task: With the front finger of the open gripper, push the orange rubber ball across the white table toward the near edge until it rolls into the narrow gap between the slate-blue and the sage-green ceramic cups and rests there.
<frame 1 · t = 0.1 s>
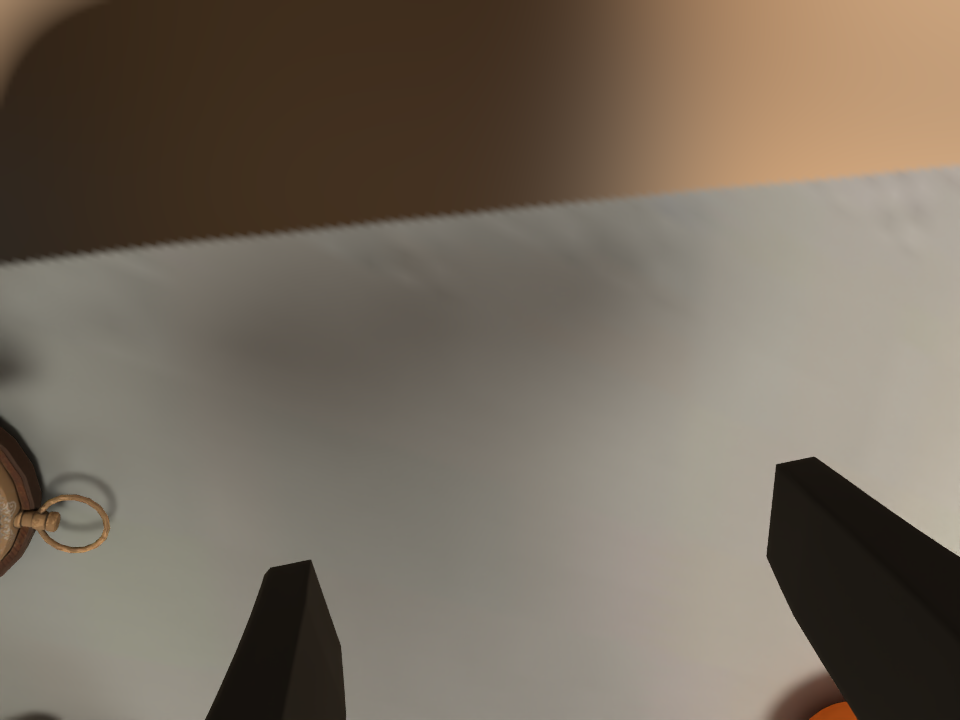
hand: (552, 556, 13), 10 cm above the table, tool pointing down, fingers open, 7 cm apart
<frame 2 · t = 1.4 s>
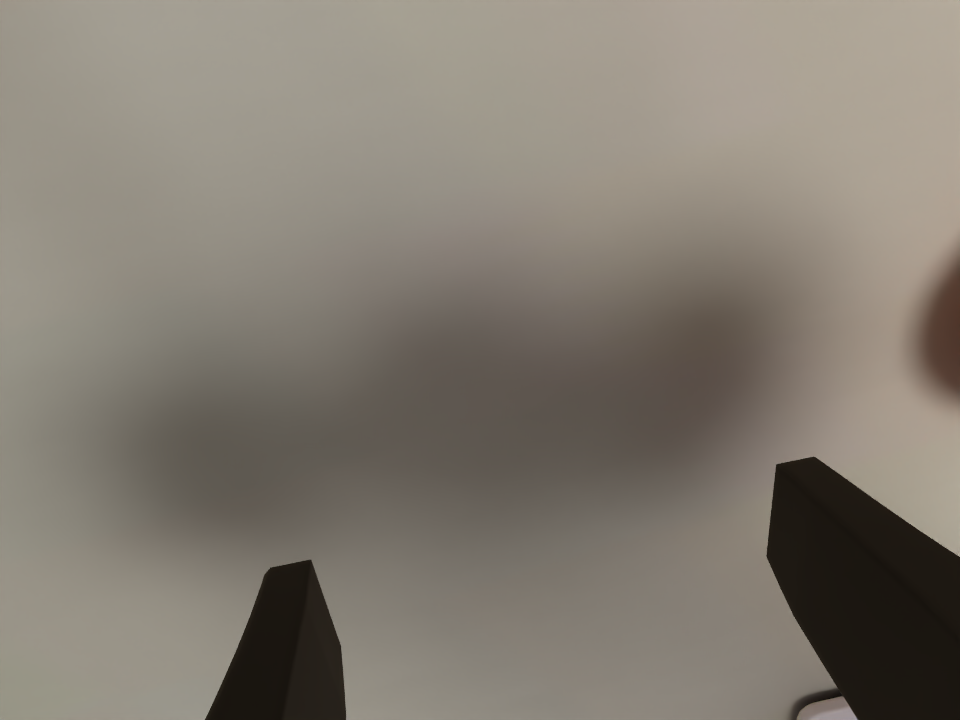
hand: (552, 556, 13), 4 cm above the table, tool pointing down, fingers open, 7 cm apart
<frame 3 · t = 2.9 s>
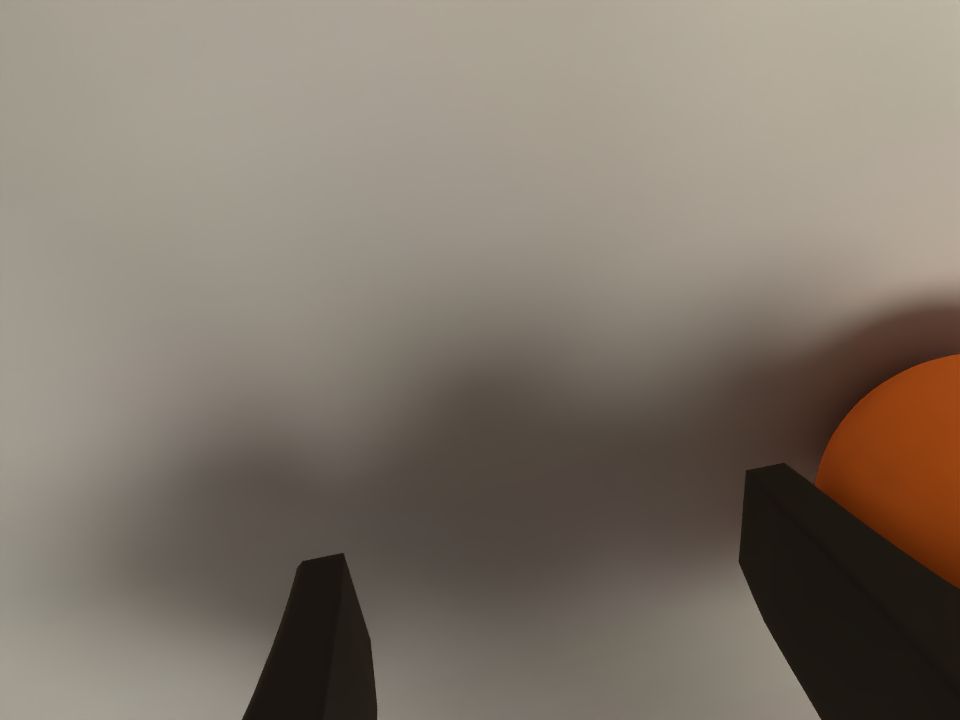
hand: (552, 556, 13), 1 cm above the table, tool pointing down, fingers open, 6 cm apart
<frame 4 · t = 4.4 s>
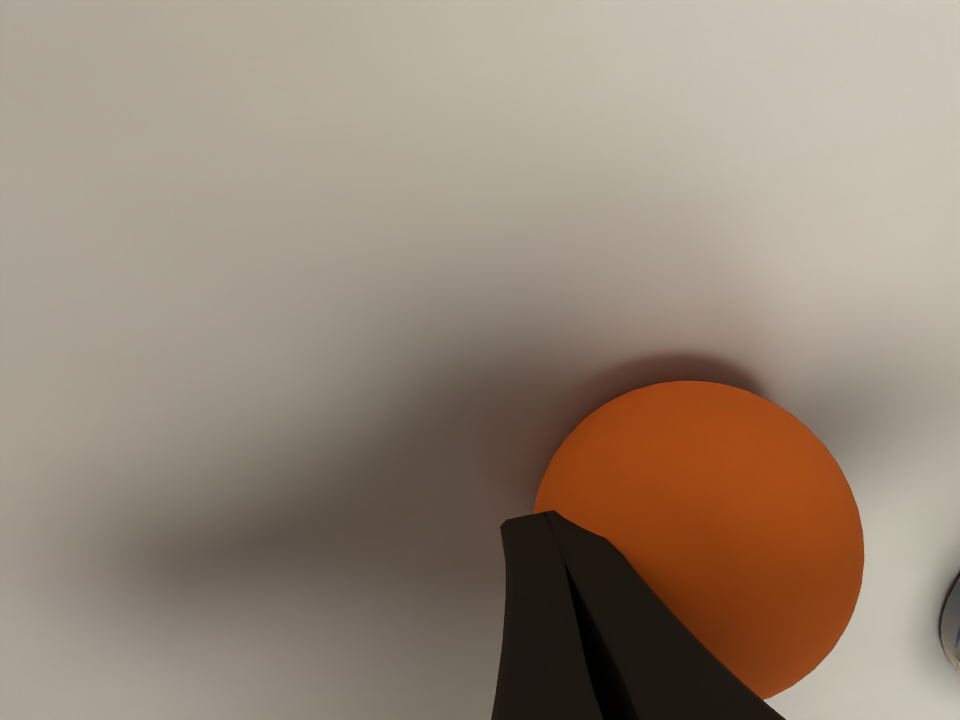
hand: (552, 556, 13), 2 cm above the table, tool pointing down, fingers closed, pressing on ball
ball: (689, 538, 13), point 2 cm above the table, tilted 38°, touching gripper
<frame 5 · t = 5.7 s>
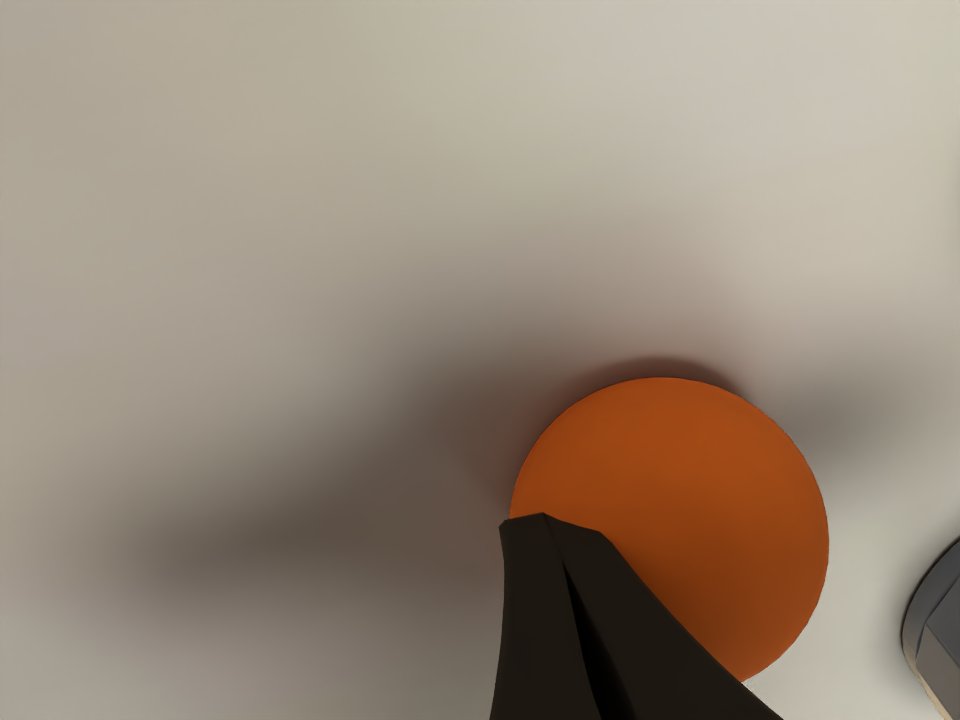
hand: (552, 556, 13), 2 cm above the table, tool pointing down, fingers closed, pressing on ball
ball: (662, 530, 13), point 2 cm above the table, tilted 52°, touching gripper
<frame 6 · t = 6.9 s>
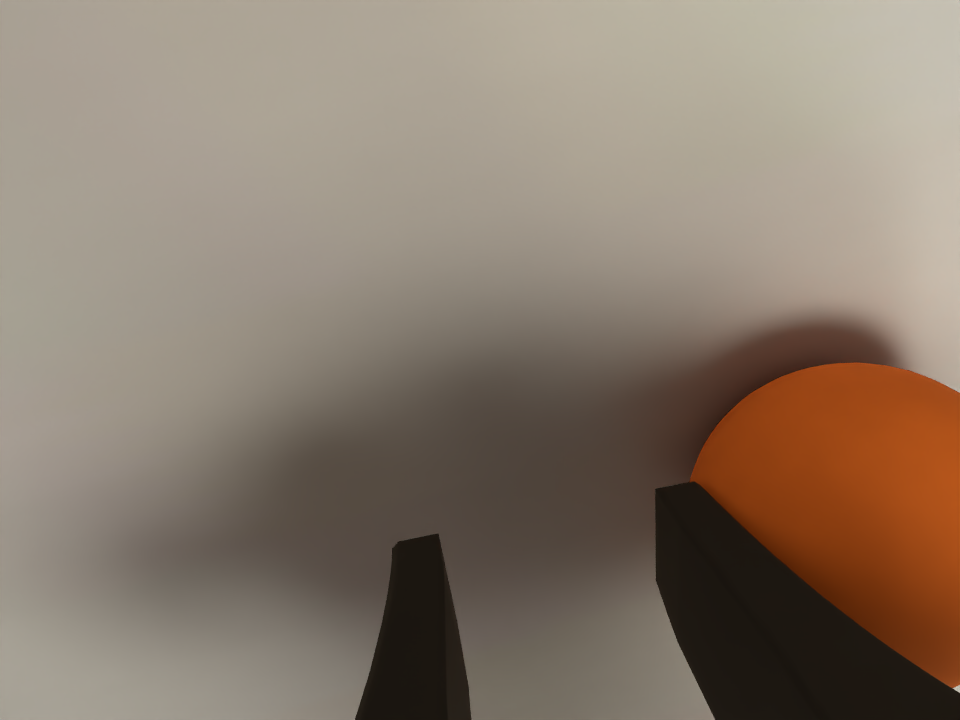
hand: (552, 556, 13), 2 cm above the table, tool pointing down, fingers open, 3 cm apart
ball: (852, 525, 13), point 2 cm above the table, tilted 25°, touching gripper
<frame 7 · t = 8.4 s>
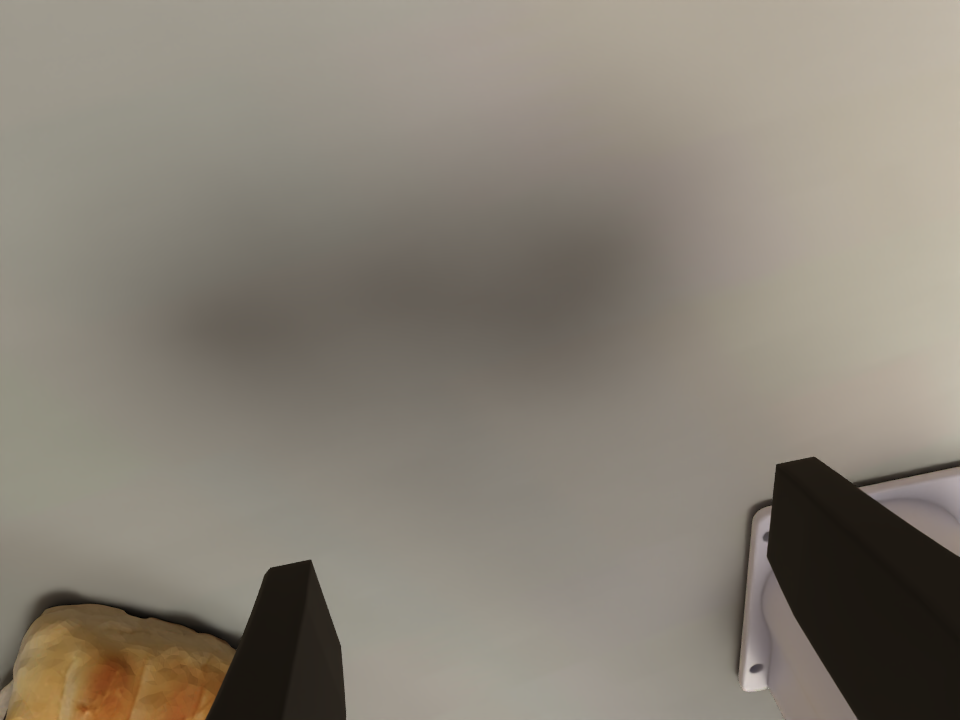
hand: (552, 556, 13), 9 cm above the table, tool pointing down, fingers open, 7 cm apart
pastry: (147, 668, 27), on the table
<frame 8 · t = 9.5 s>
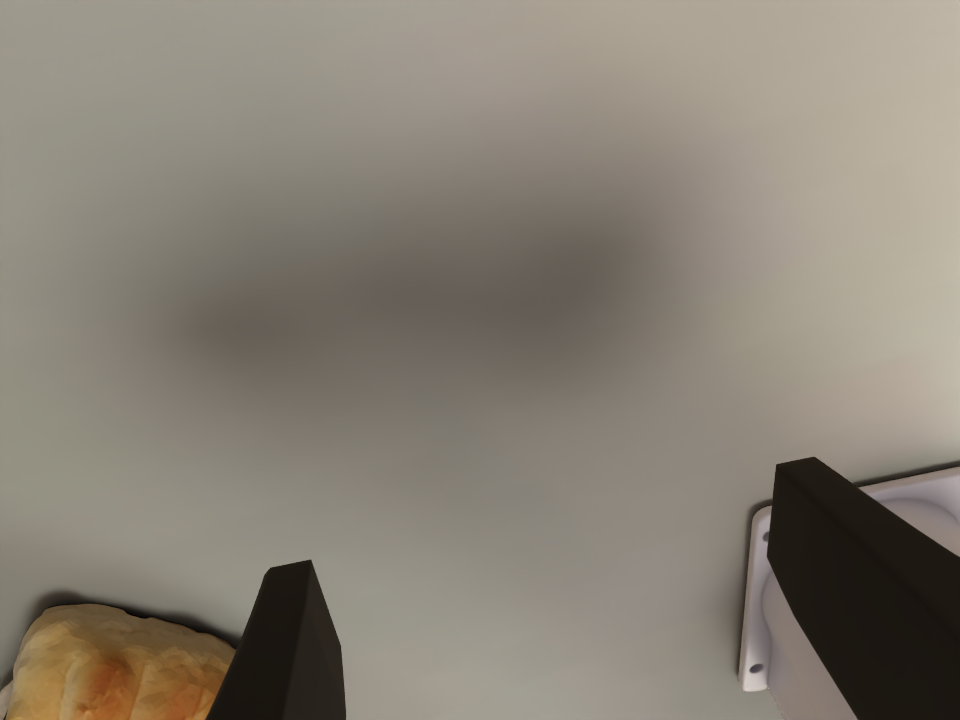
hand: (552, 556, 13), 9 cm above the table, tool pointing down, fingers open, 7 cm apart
pastry: (147, 668, 27), on the table
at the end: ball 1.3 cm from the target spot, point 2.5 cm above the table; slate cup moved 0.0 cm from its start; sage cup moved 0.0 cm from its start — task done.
